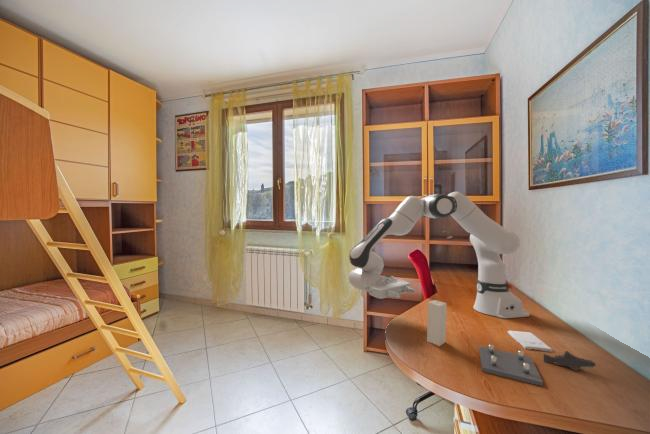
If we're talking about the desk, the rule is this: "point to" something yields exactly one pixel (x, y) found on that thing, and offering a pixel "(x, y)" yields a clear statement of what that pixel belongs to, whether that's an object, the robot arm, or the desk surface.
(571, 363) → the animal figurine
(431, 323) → the cream column
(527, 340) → the external hard drive
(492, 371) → the plate
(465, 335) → the desk surface
